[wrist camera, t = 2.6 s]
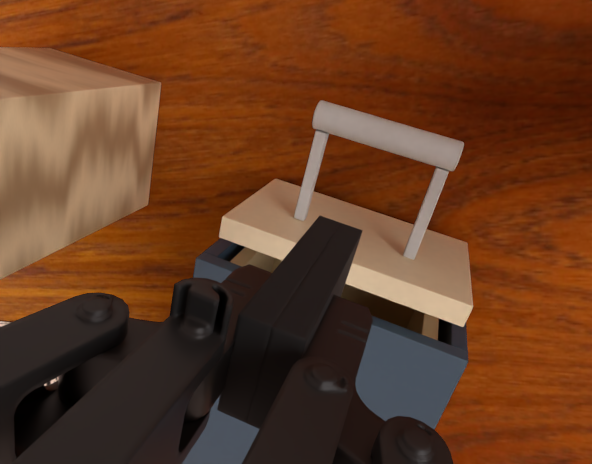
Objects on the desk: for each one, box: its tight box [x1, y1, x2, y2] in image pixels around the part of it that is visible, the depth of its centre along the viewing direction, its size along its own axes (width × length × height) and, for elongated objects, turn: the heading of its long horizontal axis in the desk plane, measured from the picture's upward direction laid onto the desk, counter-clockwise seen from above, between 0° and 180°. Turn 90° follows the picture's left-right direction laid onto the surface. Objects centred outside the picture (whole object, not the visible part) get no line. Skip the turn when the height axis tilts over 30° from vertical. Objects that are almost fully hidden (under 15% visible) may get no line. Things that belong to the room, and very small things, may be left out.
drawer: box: [219, 100, 473, 340], centre depth 27 cm, size 21×12×8 cm, turn 166°
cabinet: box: [182, 238, 468, 464], centre depth 29 cm, size 16×14×10 cm
